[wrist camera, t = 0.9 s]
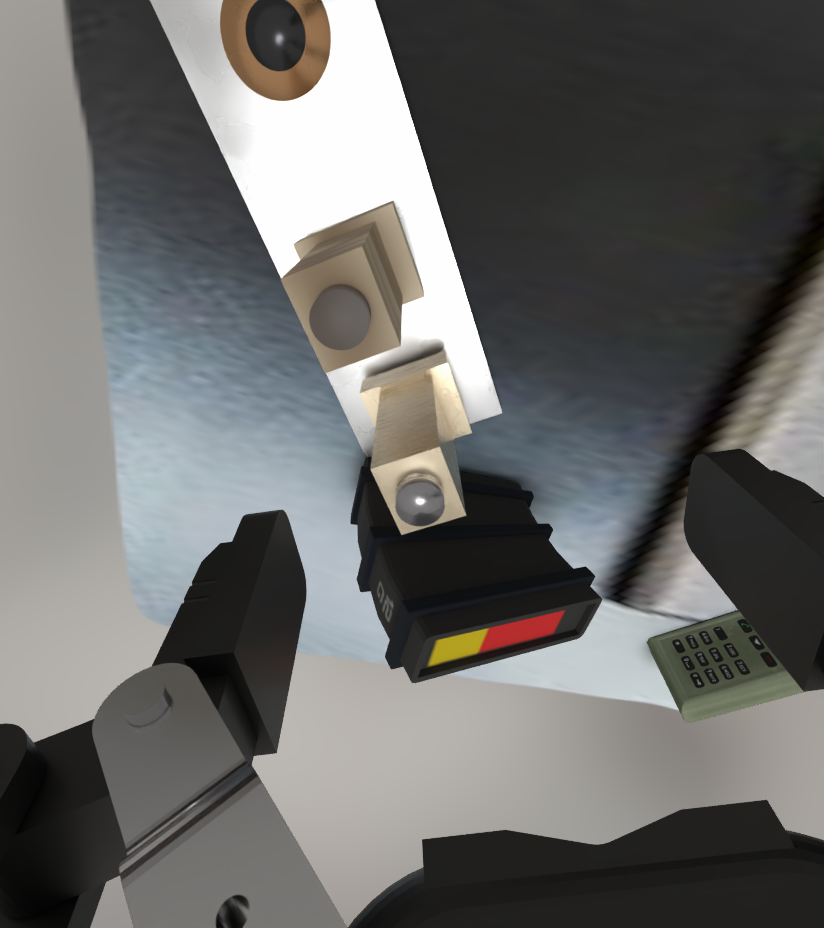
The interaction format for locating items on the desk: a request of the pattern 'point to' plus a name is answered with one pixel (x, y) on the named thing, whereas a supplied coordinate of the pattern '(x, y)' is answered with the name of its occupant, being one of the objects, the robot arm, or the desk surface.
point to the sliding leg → (354, 286)
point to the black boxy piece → (468, 580)
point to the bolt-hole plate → (345, 213)
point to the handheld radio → (719, 668)
